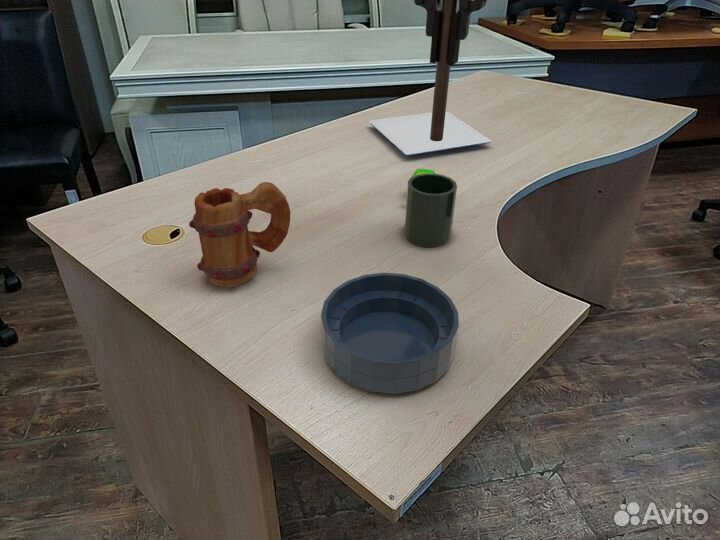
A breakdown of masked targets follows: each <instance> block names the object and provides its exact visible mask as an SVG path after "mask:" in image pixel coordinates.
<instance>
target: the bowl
mask: <svg viewBox="0 0 720 540" xmlns="http://www.w3.org/2000/svg"><path fill="white" fill-rule="evenodd" d="M459 322H460V321H459V310H458V309H457V307H456V305H455V304H454V302H453V300H452V298H451V297H450V296H449V295H448V294H447V293H445V292H444V291H443V290H442V289H441V288H439V287H438V286H437V285H435V284H433V283H431V282H430V281H427V280H425V279H423V278H420V277H416V276H412V275H408V274H405V273H395V272H378V273H370V274H362V275H361V276H358V277H354V278H351V279H348V280H346V281H345V282H343V283H341V284H340V285H339V286H337V287H336V288H334V289H333V290H332V291H331V293H330V294H329V295H328V296H327V297H326V299H325V300H324V301H323V305H322V308H321V313H320V326H321V346H322V352H323V356H324V358H325V361H326V362H327V363H328V365H329V366H330V368H331V369H332V371H333V372H334V373H335V374H336V375H337V376H339V377H340V378H341V379H342V380H344V381H346V382H347V383H348V384H350V385H352V386H354V387H357V388H361V389H363V390H366V391H369V392H373V393H382V394H391V395H392V394H393V395H395V394H403V393H408V392H409V393H410V392H415V391H419V390H421V389H423V388H426V387H428V386H430V385H431V384H434V383H436V382H437V381H438V380H439V379H440V378H441V377H442V376H443V375H444V374H445V373H446V372H448V370H449V368H450V366H451V364H452V361H453V359H454V357H455V353H456V345H457V340H458V334H459V327H460V323H459Z"/></svg>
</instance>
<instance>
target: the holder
mask: <svg viewBox="0 0 720 540" xmlns="http://www.w3.org/2000/svg"><path fill="white" fill-rule="evenodd" d="M409 179H410V180H409ZM409 179H408V180H407V189H406V202H405V204H406V205H405V216H404V217H405V219H404V238H405V239H406V241H408V242H409V243H411V244H412V245H414V246H416V247H420V248H427V249H428V248H429V249H430V248H431V249H433V248H439V247H442V246H445V245H447V243H449V241H451V240H450V239H451V235H452V231H453V230H452V229H453V222H454V214H455V206H456V199H457V198H456V197H457V191H458V184H457V181H455V180H454V179H453V178H451V177H449V176H446V175H443V174H439V173H435V174H427V173H426V174H420V175H416V176H414V177H412V176H410V177H409Z"/></svg>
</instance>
